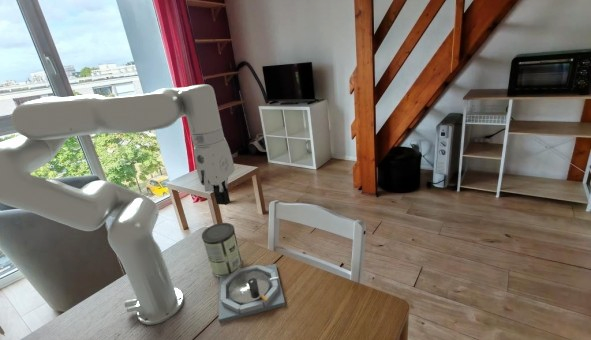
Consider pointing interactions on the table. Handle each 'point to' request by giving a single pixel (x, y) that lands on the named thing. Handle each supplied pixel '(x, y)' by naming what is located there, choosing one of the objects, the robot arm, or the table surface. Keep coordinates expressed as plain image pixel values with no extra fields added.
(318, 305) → the table surface
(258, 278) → the dial
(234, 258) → the coffee can
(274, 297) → the panel
